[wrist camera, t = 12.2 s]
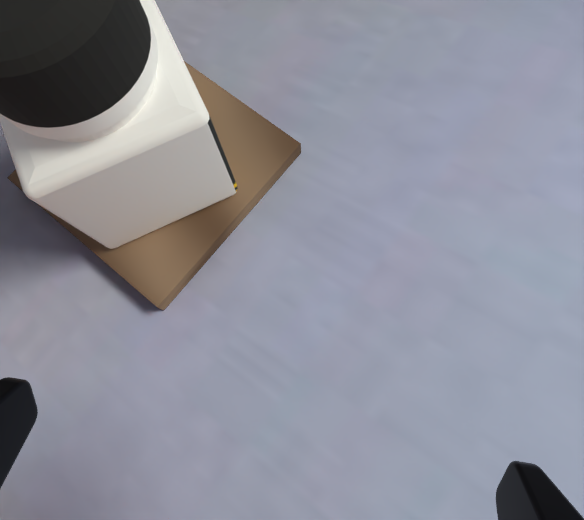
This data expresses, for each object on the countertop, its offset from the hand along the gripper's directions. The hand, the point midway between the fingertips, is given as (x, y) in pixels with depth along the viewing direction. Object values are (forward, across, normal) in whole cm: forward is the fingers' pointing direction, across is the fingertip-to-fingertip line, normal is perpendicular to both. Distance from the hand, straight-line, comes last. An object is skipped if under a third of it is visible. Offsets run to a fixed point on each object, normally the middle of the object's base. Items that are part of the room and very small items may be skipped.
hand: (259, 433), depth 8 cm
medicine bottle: (+16, +9, +1) cm, 19 cm away
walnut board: (+17, +9, +2) cm, 19 cm away
